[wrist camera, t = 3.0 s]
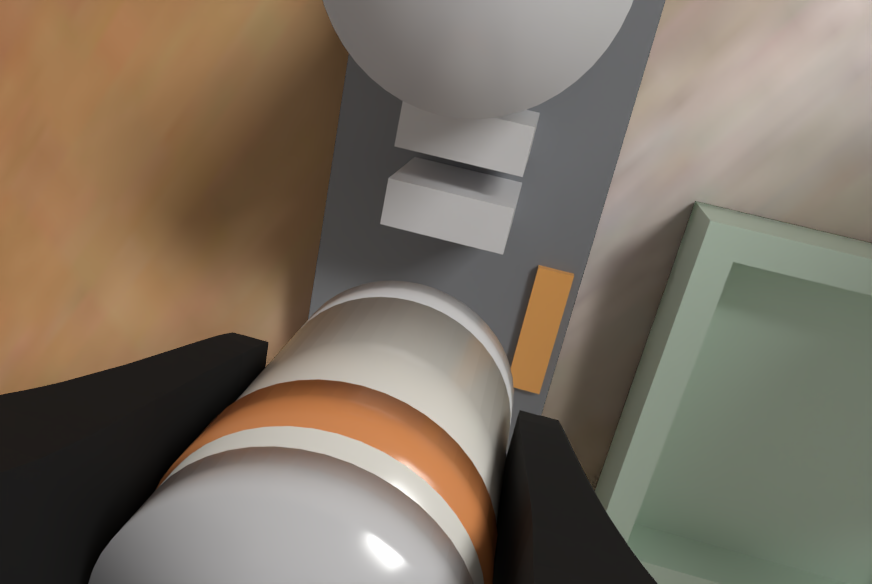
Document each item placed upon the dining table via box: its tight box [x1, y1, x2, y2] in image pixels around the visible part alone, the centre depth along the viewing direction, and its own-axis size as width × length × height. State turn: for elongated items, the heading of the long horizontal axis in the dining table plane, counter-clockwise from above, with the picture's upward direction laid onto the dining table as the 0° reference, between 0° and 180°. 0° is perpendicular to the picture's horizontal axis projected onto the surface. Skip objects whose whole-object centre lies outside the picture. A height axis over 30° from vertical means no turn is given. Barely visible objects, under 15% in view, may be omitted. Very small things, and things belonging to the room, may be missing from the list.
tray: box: [595, 201, 872, 584], centre depth 16 cm, size 9×9×2 cm
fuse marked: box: [88, 280, 514, 584], centre depth 10 cm, size 4×4×6 cm
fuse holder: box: [308, 0, 665, 456], centre depth 16 cm, size 6×21×4 cm, turn 168°
